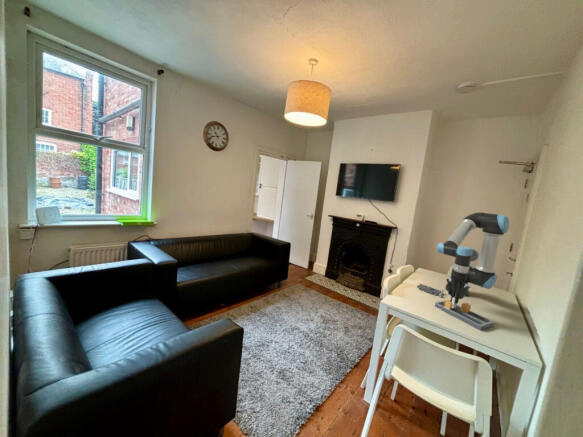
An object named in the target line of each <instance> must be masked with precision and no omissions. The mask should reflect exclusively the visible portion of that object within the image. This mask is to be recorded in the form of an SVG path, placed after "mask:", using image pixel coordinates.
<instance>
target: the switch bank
mask: <svg viewBox="0 0 583 437" xmlns="http://www.w3.org/2000/svg"><path fill="white" fill-rule="evenodd" d="M446 300H447V299H446ZM446 300H441V301H436V302H435V304H434V307H435V308H436V307H437V308H436V309H438V308H439V310H440V309H441V310H440V311H442V312H444V313H446V314H447V315H449V316H452V317H454V318H456V319H457V320H459V321H462V322H463V323H465V324H467V325H469V326H471V327H473V328H475V329H477V330H478V331H483V330H486V329H491V328H493V327H494V324H495V321H493V320H491V319H489V318H486V317H484V316H482V315H480V314H478V313H476V312H474V311H473V310H470V312H467V313H465V312H463V311H461V310H460V309H461V305H459V304H458V303H457V304H456V307H455V308H453V309H449V308H447V307H444V306H445V301H446Z"/></svg>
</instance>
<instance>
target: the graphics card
mask: <svg viewBox="0 0 583 437" xmlns="http://www.w3.org/2000/svg"><path fill="white" fill-rule="evenodd" d="M416 287H417V288H419V290H420V291H423V292H425V293H427V294H430V293H431V294H430V295H431V296H434V295H435V297H437V296H438V297H437V298H440V299H441V297H442V296H443V295H444V291H445V289H443V290H440V289H438V288H437V289H436V288H433V287H431V286H430V285H429V286H428V285H425V284H423V283H420V284H417V285H416Z"/></svg>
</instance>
